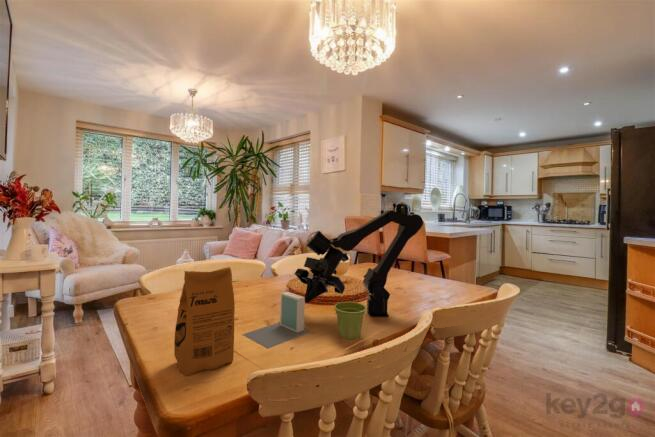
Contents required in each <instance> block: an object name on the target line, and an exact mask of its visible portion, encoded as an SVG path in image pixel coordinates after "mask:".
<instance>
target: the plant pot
mask: <svg viewBox="0 0 655 437" xmlns="http://www.w3.org/2000/svg"><path fill="white" fill-rule="evenodd" d="M333 308H334V310H335V313H336V318H337V319H336V320H337V329H338V335H339V337H340V338H343V339H347V340H355V339H359V338H360V337H361V333H362V332H361V331H362V325H363V320H364V315H365V313H366V312H367V305H365V304H363V303H361V302H360V303H359V302H355V301H343V302H338V303H335V305H334V307H333Z"/></svg>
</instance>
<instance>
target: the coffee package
mask: <svg viewBox="0 0 655 437" xmlns="http://www.w3.org/2000/svg"><path fill="white" fill-rule="evenodd" d="M183 279H184V283H183V284H182V285H183V286H182V290H181V295H180V298H179V305H178V308H177V316H176V324H175V331H174V347H173V348H174V351H173V352H174V353H173V354H174V357H175V360H176V363H177V365H178V372H179V373H180V374H182V375H183V376H186V377H187V376H190V375H193V374H196V373H198V372H200V371H212V370H217V369H218V368H220V367H222V366H225V365H226V364H229V363H232V362H233V361H234V355H235V354H234V353H235V352H234V350H235V348H234V347H235V311H236V310H235V293H234V285H233V274H232V269H231V267H230V266H227V267H223V268H220V269H216V270H212V271H195V270H192V271H191V270H190V271H188V270H184V277H183Z"/></svg>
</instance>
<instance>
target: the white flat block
mask: <svg viewBox="0 0 655 437" xmlns="http://www.w3.org/2000/svg"><path fill="white" fill-rule="evenodd" d="M305 304H306V302H305V296H304V295H303V296H302V295H299V294H296V293H292V292H290V291H285V292H281V293H280V317H279V318H280V319H279V320H280V321H279V322H280V325H281V326H284V327H286V328H288V329H290V330H293V331H295V332H297V333H298V332H301V331H303V330H304V328H305Z"/></svg>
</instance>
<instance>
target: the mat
mask: <svg viewBox="0 0 655 437" xmlns="http://www.w3.org/2000/svg"><path fill="white" fill-rule="evenodd" d="M310 332H311V333H312V330H310V329H308V328H306V327H304V330H303V331H301V332H298V333H297V332H295V331H293V330H290V329H288V328H286V327H284V326H281V325H280V321H279V322H277V323H273V324H269V325H266V326H264V327H260V328H257V329H255V330H251V331H248V332H245V333H243V334H242V336H244V337H246V339H247V338H248V339H250V340H251V341H252V342H255V343H256V344H258V345H261V346H262V347H264V348H266V349H270V348H273V347H275V346H278V345H281V344H283V343H285V342H288V341H291V340H293V339H296V338H298V337H300V336H303V335H306V334H308V333H310Z"/></svg>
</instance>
